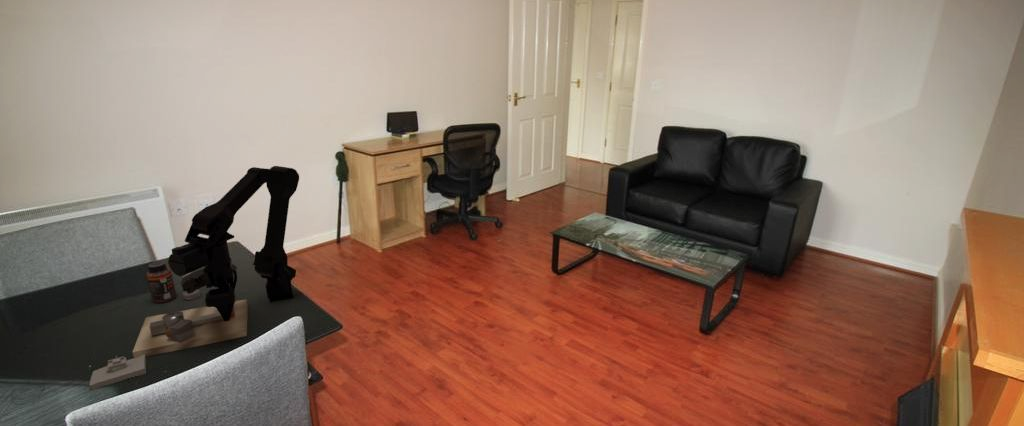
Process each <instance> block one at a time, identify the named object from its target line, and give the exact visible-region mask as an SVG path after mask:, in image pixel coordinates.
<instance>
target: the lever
mask: <svg viewBox="0 0 1024 426" xmlns="http://www.w3.org/2000/svg"><path fill="white" fill-rule="evenodd" d="M181 311H182V310H178V311H177V310H176V311H175V310H174V311H171V312H168V314H167V313H165V314H166V315H164V316H163V318H162V319H163V320H161V321H156V322H151V323H150V331H151V335H157V334H161V333H165V332H166V330H167V329H168V328H169V327H171V326H173V325H175V324H176V323H178V322H180V321H181V320H183V319H184V315H183V312H181ZM234 316H235V311H234V306H233V310H232V313H231V317H230V318H232V317H234ZM221 319H223V318H222V316H221V315H220V313H219V312H218V313H214V314H209V315H205V316H200V317H196V318H191V319H187V320H192V324H193V326H195V325H199V324H204V323H208V322H212V321H217V320H221Z"/></svg>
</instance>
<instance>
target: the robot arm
mask: <svg viewBox="0 0 1024 426" xmlns="http://www.w3.org/2000/svg"><path fill="white" fill-rule="evenodd" d="M299 174H300V173H299V172H298V171H297V170H296V169H295V168H292V167H286V166H280V165H273V166H271V167H270V168H264V167H263V168H262V167H256V166H254V167H250V168H249V169H247V172H246V174H244V175H243V176H242V177H241V178H240V179H239V180H238V181H237V182H236V183H235V185H233V186H232V188H230V189H229V190H228V191H227V192H226V193H225V194H224V195H223V196H222V197H221V198H220V200H218V201H216V202H215V203H213V204H210V205H207V206H205V207H204V208H203V209H201V210H199V211H198V212H197V213H195V215H193V217H192V218H191V222H192V223H191V225H190V227H189V230H188V232H187V234H186V236H185V238H184V243H186V244H184V245H181V246H176V247H173V248H172V249H171V254H170V255H169V256H168V260H167V264H168V268H169V269H170V270H171V272H172V273H173V274H175V275H176V276H178V277H181V276H184V275H186V274H188V273H190V272H192V273H191V274H189V275H187V276H185V277H184V278H183V279H182V278H181V282H180V286H181V287H182V291H183V292H184V291H187V293H188V294H191V293H193V292H194V291H195V290H197V289H199V290H200V289H201V288H204V287H206V289H209V290H208V291H207V292H206V293H205V297H204V298H205V299H204V301H205V307H215V308H217V310H218V311H219V313H220V315H221V316H222V318H223V320H224V321H229V320H230V317H231V313H232V310H233V306H234V303H235V301H236V296H237V295H236V290H235V289H236V287H237V281H238V267H237V265H235V264H233V263H232V262H233V261H232V257H231V256H230V251H229V246H228V241H230V240H232V239H234V238H235V235H234V234H231V233H229V232H228V231H229V229H230V228H231V226H232V224H233V223H234V220H235V215H236V214H237V212H238V211H239V210H240V209H241V208H242V207H243V206H244V205H245V204H246V203H247V202H249V200H250V199H251V198H252V197H253V196H254V195H255V194H256V193H257V192H258V190H260V188H261V187H263V185H264V184H266V188H267V190H268V193H269V195H270V200H269V207H268V215H267V223H266V231H265V239H264V245H263V247H262V248H261V249H260V250H257V251H255V253H254V260H253V261H254V262H253V263H252V265H253V266H254V271H255V272H256V273H257V274H258V275H259V276H260V278H262V279H266V282H265V290H266V296H267V297H266V298H267V299H269V302H270V303H275V302H276V303H277V302H281V301H286V300H292V299H294V298H295V297H294V291H293V290H294V288H293V286H292V281H293V279H294V278H295V277H296V276H297V275H296V274H297V269H296V268H293V267H291V266H289V265H288V256H287V255H288V254H287V253H286V251H285V248H284V243H285V235H286V228H287V220H288V213H289V204H290V200H291V197H293V195H295V192H296V191H297V189H298V185H299V181H300V175H299ZM199 235H203V236H206V237H203V236H199ZM207 236H208V237H207ZM210 288H214V289H210Z"/></svg>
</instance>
